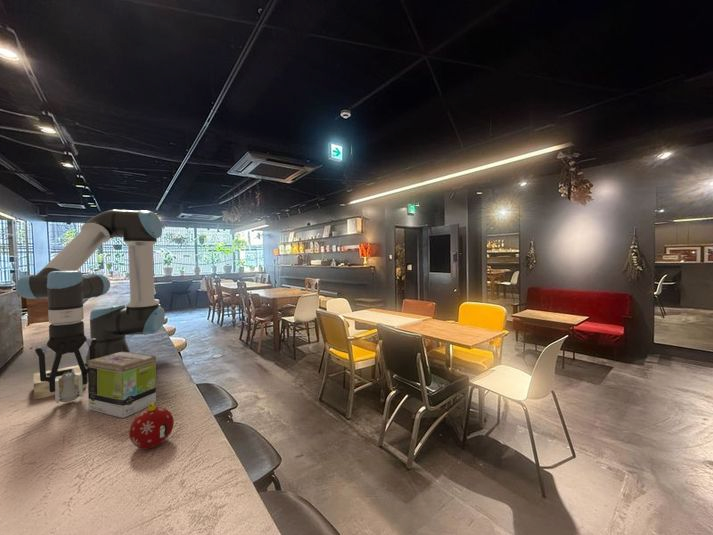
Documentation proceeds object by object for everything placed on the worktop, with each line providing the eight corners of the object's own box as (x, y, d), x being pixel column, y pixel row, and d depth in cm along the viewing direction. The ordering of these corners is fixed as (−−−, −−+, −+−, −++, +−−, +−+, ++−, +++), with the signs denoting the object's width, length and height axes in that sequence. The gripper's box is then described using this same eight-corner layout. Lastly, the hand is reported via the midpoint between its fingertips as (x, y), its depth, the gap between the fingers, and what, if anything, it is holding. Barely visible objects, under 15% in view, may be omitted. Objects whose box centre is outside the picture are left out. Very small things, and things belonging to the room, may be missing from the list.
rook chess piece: (66, 403, 88) (65, 377, 87) (54, 401, 88) (53, 375, 88) (83, 396, 92) (82, 371, 92) (71, 394, 93) (71, 369, 92)
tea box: (157, 403, 90) (157, 355, 90) (122, 419, 81) (121, 366, 81) (123, 395, 95) (123, 349, 95) (86, 410, 86) (85, 359, 86)
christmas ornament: (162, 430, 76) (161, 392, 76) (181, 441, 71) (180, 400, 71) (122, 449, 68) (121, 406, 68) (140, 462, 64) (140, 416, 64)
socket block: (82, 378, 109) (82, 364, 109) (86, 387, 101) (85, 373, 101) (33, 388, 100) (33, 373, 100) (33, 399, 92) (33, 383, 92)
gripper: (22, 329, 80) (26, 414, 81) (106, 319, 93) (108, 392, 94) (23, 325, 85) (26, 404, 86) (102, 316, 98) (104, 385, 99)
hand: (69, 398), depth 90 cm, fingers closed on rook chess piece, 4 cm apart
